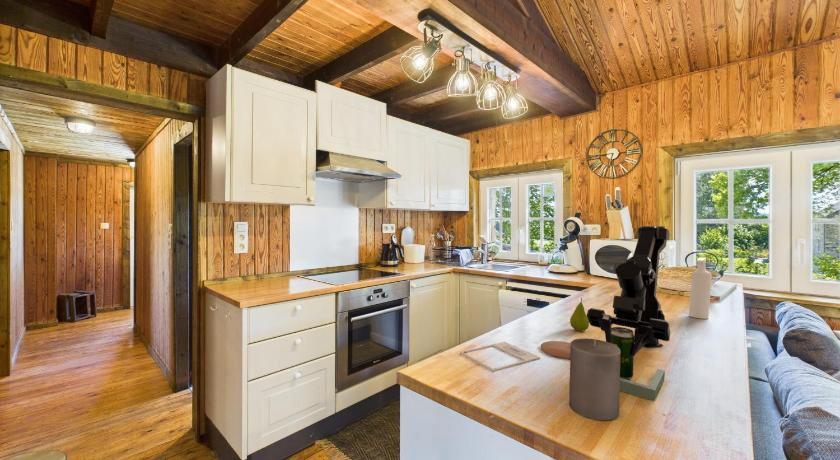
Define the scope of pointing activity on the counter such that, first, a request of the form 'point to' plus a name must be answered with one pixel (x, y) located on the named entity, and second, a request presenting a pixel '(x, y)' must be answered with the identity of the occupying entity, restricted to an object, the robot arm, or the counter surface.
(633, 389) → the green u-shaped bracket
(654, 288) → the robot arm
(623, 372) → the beer can
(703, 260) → the beige bottle
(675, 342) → the counter surface
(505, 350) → the photo frame
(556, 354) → the saucer
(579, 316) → the fruit
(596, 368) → the pillar candle
